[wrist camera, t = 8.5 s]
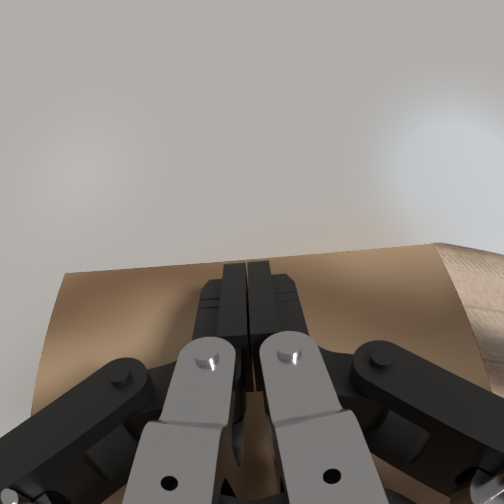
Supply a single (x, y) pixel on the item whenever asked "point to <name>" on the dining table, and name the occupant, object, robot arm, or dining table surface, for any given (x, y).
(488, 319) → the dining table surface
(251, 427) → the box lid
